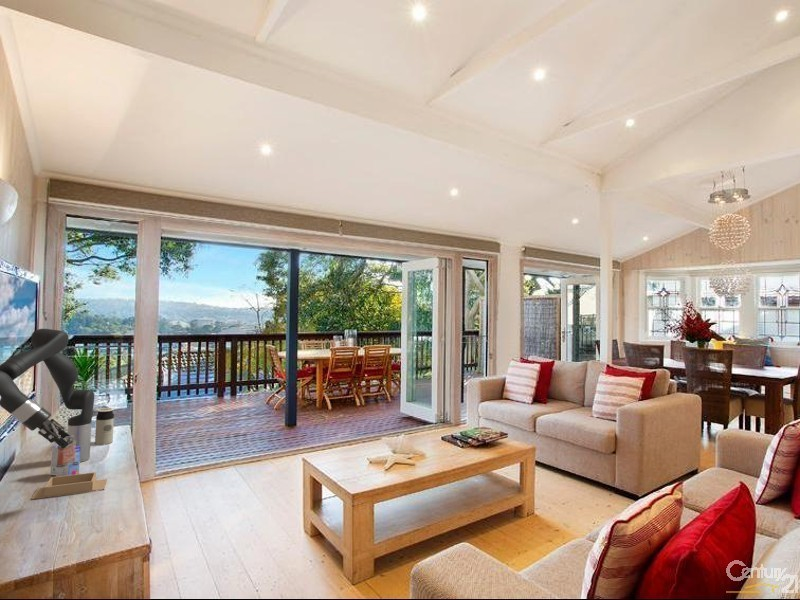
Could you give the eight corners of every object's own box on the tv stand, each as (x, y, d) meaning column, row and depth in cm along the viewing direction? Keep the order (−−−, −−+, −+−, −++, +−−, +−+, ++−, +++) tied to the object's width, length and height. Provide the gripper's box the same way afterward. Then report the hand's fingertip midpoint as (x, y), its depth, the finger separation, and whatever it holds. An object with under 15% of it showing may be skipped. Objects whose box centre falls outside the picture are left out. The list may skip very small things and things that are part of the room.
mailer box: (40, 485, 181) (41, 475, 182) (108, 476, 192) (108, 467, 193) (31, 499, 168) (31, 489, 168) (104, 489, 179) (104, 479, 179)
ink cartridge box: (80, 473, 195) (81, 440, 195) (68, 478, 190) (70, 444, 190) (61, 471, 197) (63, 438, 197) (49, 475, 192) (51, 442, 192)
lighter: (68, 460, 170) (69, 433, 170) (77, 460, 170) (79, 434, 171) (53, 467, 162) (55, 439, 162) (63, 467, 162) (65, 440, 163)
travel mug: (93, 442, 239) (95, 408, 239) (111, 440, 244) (112, 407, 245) (96, 446, 233) (98, 411, 233) (114, 443, 238) (115, 409, 239)
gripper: (36, 410, 156) (74, 440, 162) (45, 402, 169) (80, 430, 174) (15, 427, 154) (55, 457, 159) (26, 418, 166) (63, 445, 171)
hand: (68, 443), depth 166 cm, fingers closed on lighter, 7 cm apart
